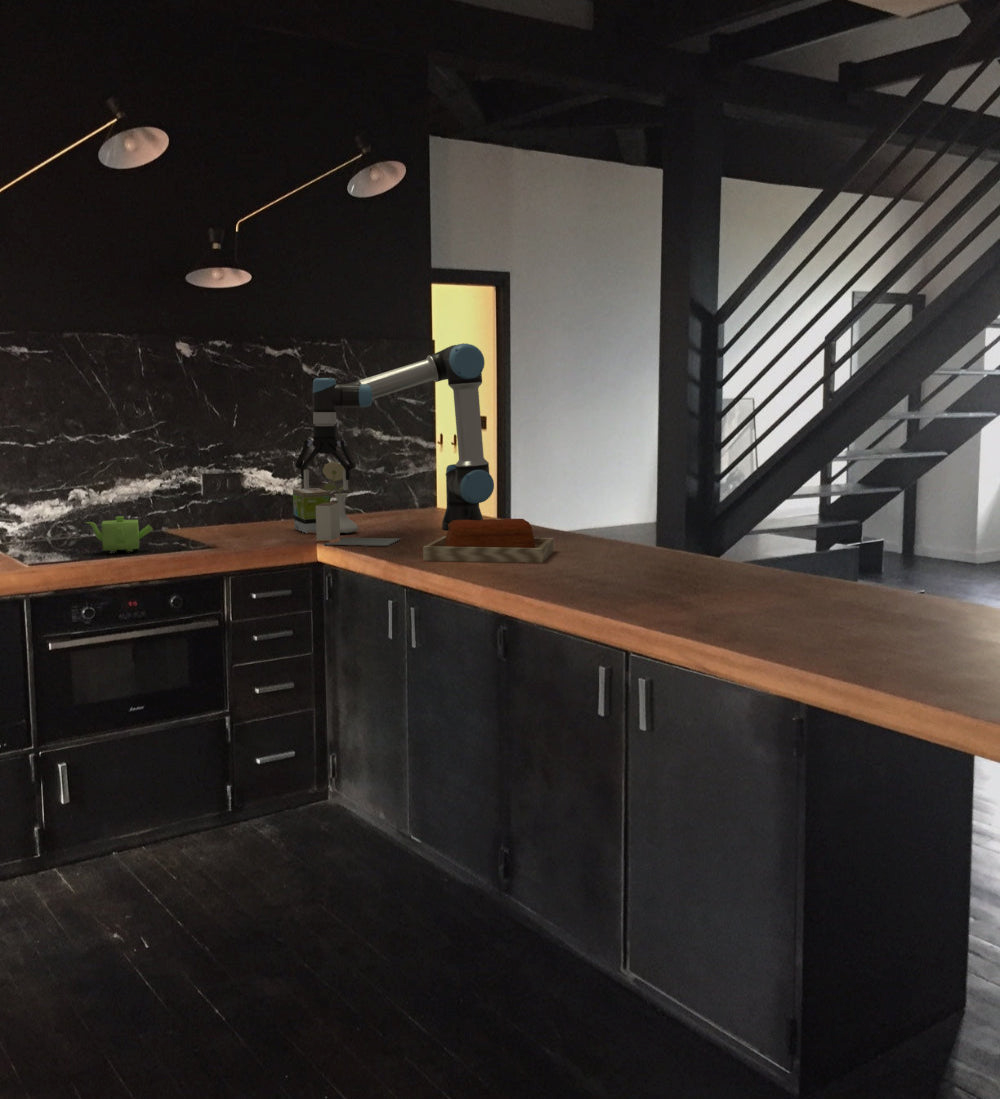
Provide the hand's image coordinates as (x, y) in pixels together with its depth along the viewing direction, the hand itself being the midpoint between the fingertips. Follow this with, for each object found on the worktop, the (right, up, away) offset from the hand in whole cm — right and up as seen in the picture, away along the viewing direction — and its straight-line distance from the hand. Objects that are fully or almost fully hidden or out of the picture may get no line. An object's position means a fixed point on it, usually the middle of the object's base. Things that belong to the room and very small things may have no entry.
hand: (326, 489), depth 379 cm
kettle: (-61, -21, -21) cm, 68 cm away
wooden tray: (+55, -22, -37) cm, 70 cm away
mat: (+13, -18, -6) cm, 23 cm away
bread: (+55, -22, -37) cm, 70 cm away
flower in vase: (+2, -14, +20) cm, 25 cm away
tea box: (-9, -14, +27) cm, 32 cm away
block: (0, -17, +2) cm, 17 cm away
